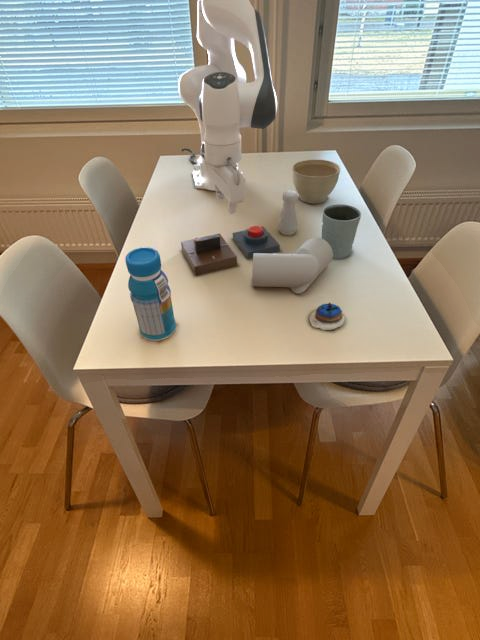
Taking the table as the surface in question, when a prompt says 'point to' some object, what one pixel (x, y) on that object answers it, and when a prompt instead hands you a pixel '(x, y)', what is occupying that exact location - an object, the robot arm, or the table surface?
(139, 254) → the beverage bottle
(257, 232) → the red button
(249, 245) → the button box
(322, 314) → the dessert
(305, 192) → the planter bowl
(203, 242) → the lever
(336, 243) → the light blue cup
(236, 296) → the table surface
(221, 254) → the dial base
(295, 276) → the bent grey cylinder
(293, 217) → the salt shaker
